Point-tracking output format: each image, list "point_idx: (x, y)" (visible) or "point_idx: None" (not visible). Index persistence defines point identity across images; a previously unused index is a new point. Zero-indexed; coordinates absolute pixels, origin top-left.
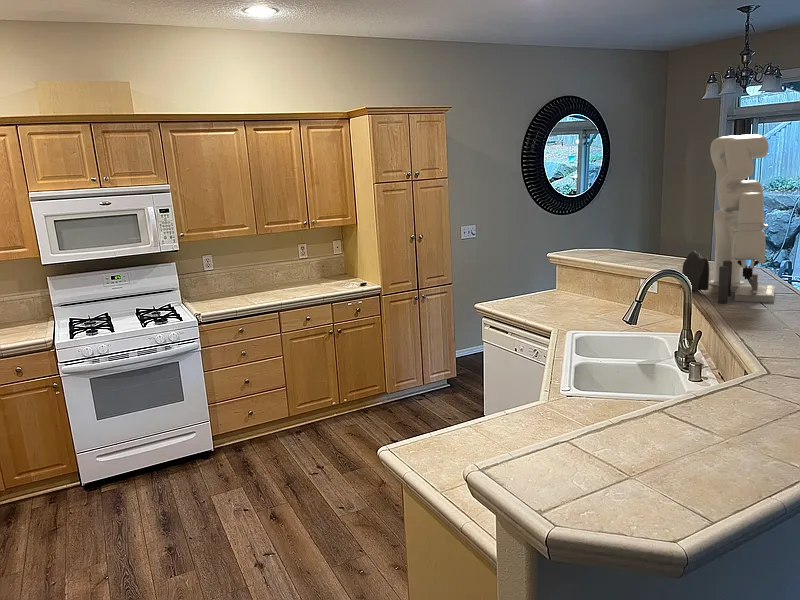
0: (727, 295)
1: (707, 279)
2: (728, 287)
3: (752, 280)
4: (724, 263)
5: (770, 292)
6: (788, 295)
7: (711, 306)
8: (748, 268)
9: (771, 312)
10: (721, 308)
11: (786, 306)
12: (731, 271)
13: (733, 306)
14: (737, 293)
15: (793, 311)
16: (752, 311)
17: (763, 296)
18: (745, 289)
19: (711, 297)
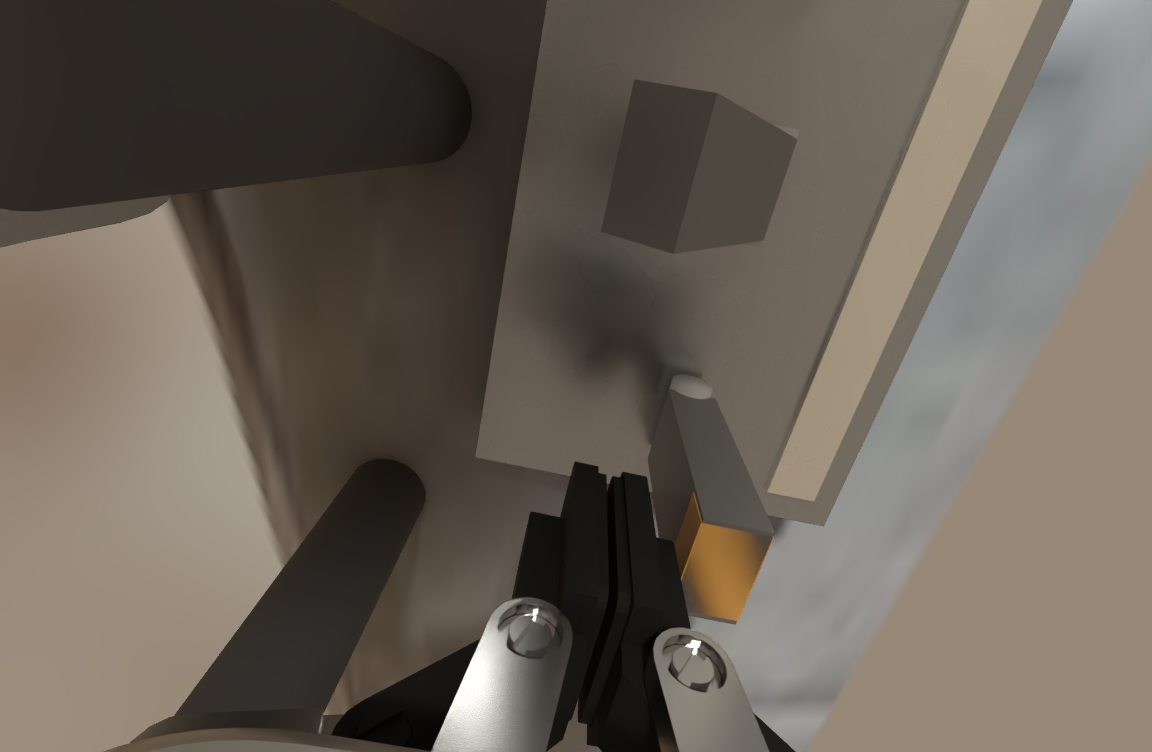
0: (400, 552)
1: (29, 232)
2: (409, 161)
3: (724, 244)
4: None
5: (853, 387)
6: (1142, 73)
7: None
8: (588, 741)
9: None
10: (383, 664)
11: (846, 595)
12: (333, 121)
13: (465, 608)
14: (504, 420)
15: (825, 720)
16: (571, 727)
17: None
18: None
19: (275, 255)
